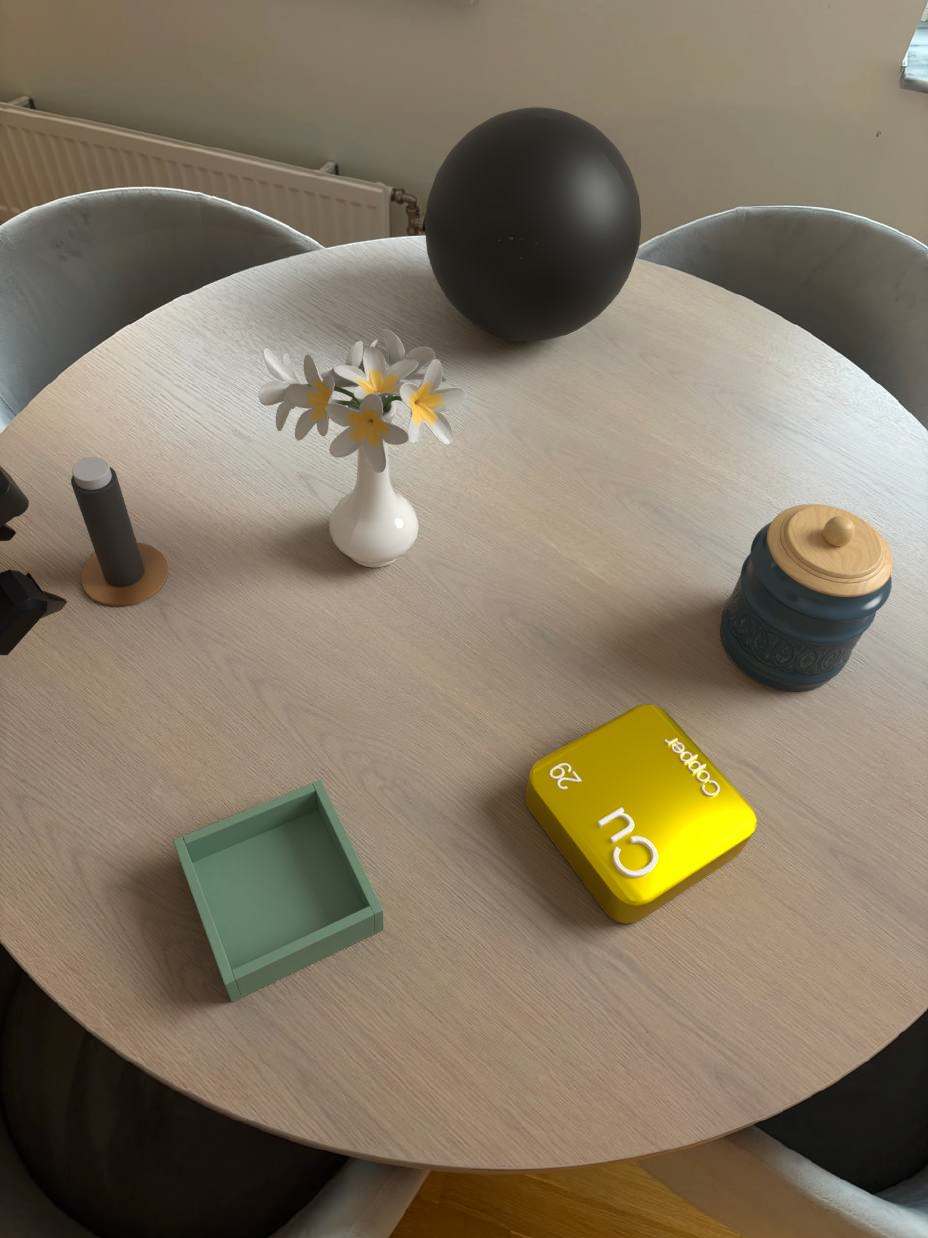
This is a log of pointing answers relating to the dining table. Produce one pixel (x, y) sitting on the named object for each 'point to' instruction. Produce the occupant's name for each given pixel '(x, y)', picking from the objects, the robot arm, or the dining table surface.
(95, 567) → the coaster
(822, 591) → the canister
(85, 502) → the salt mill
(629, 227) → the ball
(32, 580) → the robot arm
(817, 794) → the dining table surface
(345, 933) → the box
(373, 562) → the flower vase
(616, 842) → the element tile
